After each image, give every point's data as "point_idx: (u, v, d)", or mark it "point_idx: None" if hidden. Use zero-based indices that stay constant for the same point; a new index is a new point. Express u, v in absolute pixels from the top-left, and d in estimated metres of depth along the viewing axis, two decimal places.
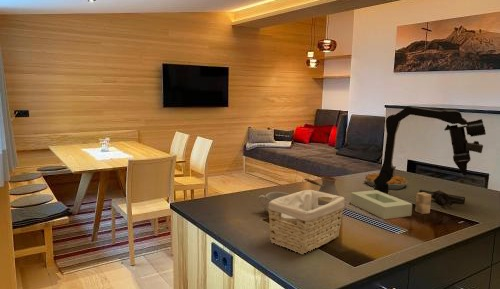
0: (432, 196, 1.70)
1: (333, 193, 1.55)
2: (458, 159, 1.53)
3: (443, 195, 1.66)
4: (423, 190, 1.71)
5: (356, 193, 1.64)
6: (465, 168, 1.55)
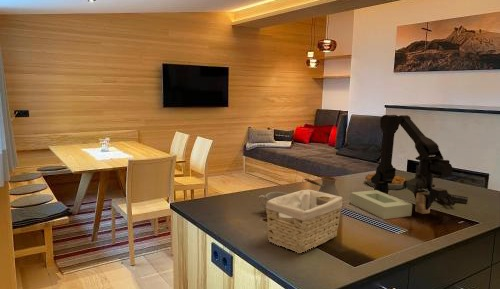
0: None
1: (333, 193, 1.55)
2: None
3: None
4: None
5: (356, 193, 1.64)
6: None
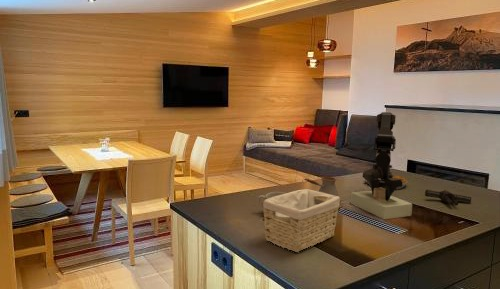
0: (438, 196, 1.71)
1: (333, 193, 1.55)
2: None
3: (449, 195, 1.66)
4: (429, 190, 1.72)
5: (356, 193, 1.64)
6: None
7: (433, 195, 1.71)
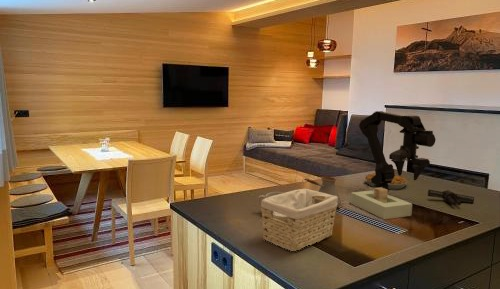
0: (441, 196, 1.71)
1: (333, 193, 1.55)
2: None
3: (452, 195, 1.67)
4: (432, 190, 1.72)
5: (356, 193, 1.64)
6: None
7: (436, 195, 1.71)
